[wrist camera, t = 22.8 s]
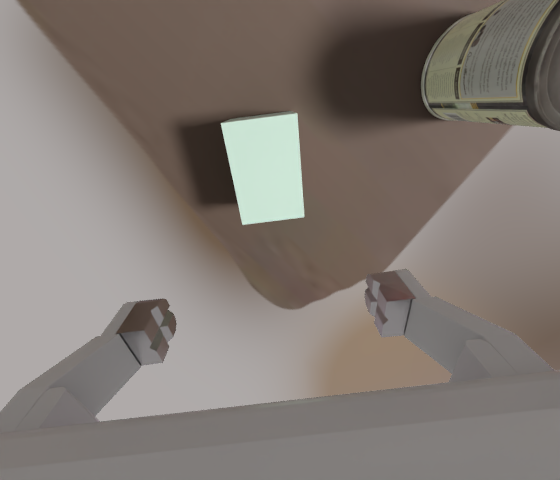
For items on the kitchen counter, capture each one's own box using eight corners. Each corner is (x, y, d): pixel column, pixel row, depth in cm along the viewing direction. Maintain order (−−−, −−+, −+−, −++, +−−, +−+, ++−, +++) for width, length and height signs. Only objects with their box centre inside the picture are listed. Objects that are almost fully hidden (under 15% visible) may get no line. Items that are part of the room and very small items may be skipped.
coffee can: (524, -2, 25) (779, -107, 12) (500, 109, 30) (663, 113, 17) (423, 25, 25) (569, -49, 13) (416, 129, 30) (517, 146, 18)
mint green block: (230, 118, 29) (220, 123, 23) (290, 111, 29) (297, 113, 22) (246, 202, 34) (242, 224, 28) (297, 196, 34) (304, 217, 28)
